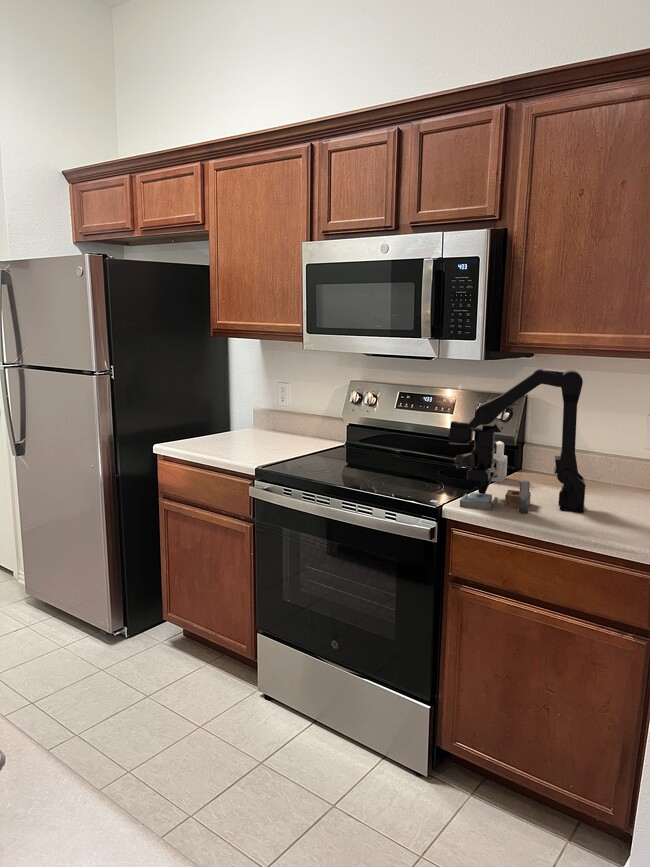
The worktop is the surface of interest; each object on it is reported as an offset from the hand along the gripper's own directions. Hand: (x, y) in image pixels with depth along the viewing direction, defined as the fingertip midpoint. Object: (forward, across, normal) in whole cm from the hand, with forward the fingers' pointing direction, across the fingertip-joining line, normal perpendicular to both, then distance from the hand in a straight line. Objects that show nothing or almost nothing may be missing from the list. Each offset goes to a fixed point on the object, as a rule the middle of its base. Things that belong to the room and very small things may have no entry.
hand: (481, 496), depth 198 cm
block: (+2, +4, 0) cm, 5 cm away
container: (+2, -28, -2) cm, 28 cm away
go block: (+1, 0, +10) cm, 11 cm away
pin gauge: (+1, +7, +13) cm, 15 cm away
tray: (+1, +4, 0) cm, 4 cm away
